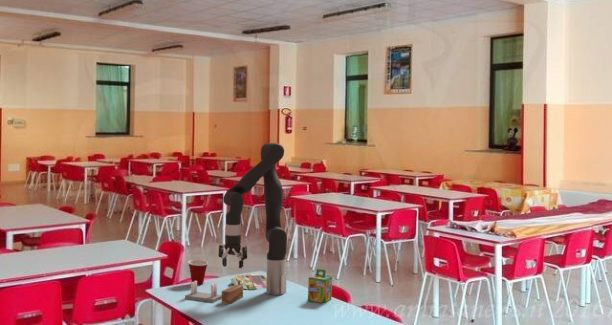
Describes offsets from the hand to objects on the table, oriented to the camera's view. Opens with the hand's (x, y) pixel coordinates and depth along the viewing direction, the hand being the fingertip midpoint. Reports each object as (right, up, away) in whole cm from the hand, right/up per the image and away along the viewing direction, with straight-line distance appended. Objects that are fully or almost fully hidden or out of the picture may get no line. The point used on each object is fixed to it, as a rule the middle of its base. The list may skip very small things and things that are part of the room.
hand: (232, 267), depth 288 cm
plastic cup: (-22, -14, +30) cm, 40 cm away
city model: (+7, -15, +31) cm, 35 cm away
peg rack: (-14, -16, +3) cm, 21 cm away
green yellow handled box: (+42, -17, +3) cm, 45 cm away
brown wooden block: (0, -16, +1) cm, 16 cm away
